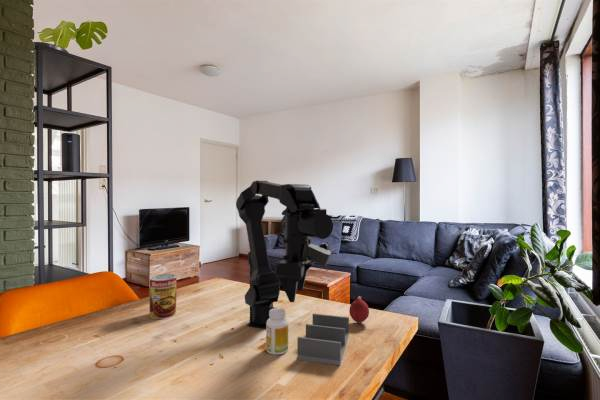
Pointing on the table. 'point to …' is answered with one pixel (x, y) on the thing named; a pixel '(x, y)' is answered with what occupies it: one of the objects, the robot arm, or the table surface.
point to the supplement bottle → (277, 332)
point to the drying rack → (324, 339)
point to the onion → (359, 310)
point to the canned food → (162, 296)
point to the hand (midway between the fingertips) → (296, 295)
